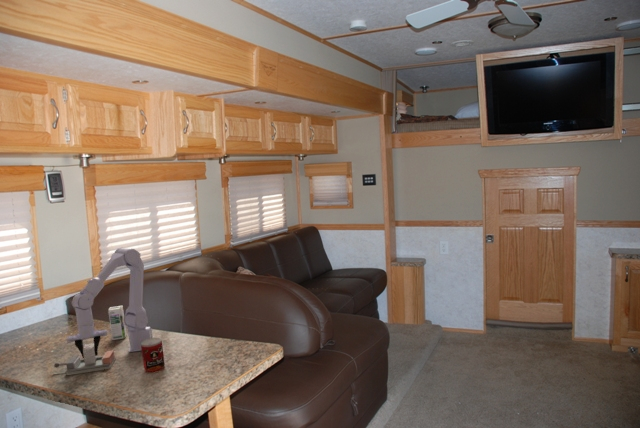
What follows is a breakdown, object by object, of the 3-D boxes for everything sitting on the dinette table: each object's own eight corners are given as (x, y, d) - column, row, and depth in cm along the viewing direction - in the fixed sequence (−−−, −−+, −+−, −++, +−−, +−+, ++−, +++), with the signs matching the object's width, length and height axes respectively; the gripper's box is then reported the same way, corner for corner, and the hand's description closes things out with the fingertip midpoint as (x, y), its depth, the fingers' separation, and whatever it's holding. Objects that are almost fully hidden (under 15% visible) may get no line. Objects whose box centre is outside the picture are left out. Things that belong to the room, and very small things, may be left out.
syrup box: (112, 340, 231) (107, 310, 230) (114, 336, 237) (109, 306, 235) (125, 338, 233) (121, 308, 231) (126, 334, 238) (122, 304, 237)
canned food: (146, 374, 189) (142, 346, 188) (142, 367, 196) (139, 340, 195) (166, 369, 193) (163, 341, 191) (163, 362, 200) (159, 336, 198)
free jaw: (114, 357, 207) (113, 350, 206) (110, 364, 199) (109, 357, 199) (106, 358, 206) (105, 351, 206) (102, 365, 199) (101, 358, 198)
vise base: (115, 358, 208) (114, 349, 208) (109, 368, 198) (108, 358, 198) (59, 367, 204) (58, 357, 204) (50, 377, 194) (49, 367, 194)
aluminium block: (96, 356, 206) (94, 342, 205) (96, 362, 199) (93, 348, 198) (86, 358, 204) (84, 344, 203) (85, 364, 198) (82, 350, 197)
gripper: (105, 317, 206) (110, 348, 208) (66, 324, 201) (71, 356, 202) (105, 321, 199) (109, 354, 201) (64, 329, 194) (69, 363, 196)
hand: (90, 356), depth 201 cm, fingers closed on aluminium block, 4 cm apart
